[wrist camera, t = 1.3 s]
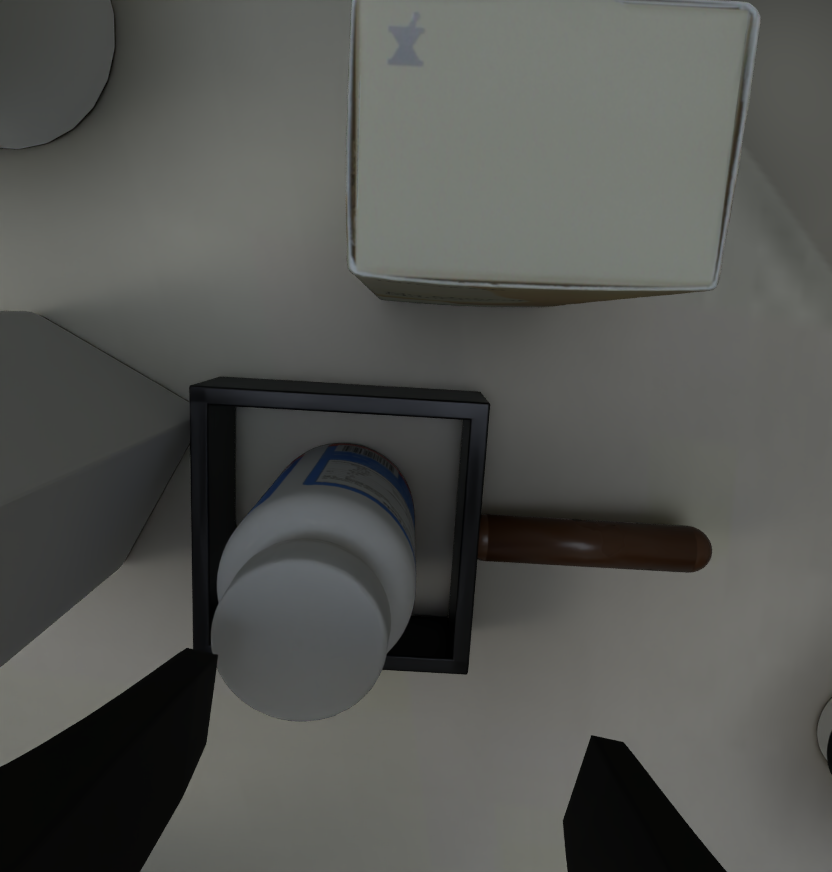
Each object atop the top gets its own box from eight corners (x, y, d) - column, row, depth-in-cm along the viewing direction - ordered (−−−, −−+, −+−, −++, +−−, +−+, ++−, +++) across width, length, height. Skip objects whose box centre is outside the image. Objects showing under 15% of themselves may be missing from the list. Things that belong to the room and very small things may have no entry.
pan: (220, 617, 24) (192, 660, 21) (219, 376, 22) (188, 385, 19) (664, 642, 24) (699, 688, 21) (700, 404, 22) (743, 417, 19)
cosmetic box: (376, 302, 21) (322, 282, 9) (380, 172, 21) (325, -31, 9) (556, 310, 21) (730, 300, 9) (567, 180, 21) (774, -11, 9)
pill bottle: (307, 594, 24) (231, 782, 14) (251, 470, 23) (128, 581, 13) (437, 547, 23) (450, 707, 14) (386, 418, 22) (360, 494, 13)
